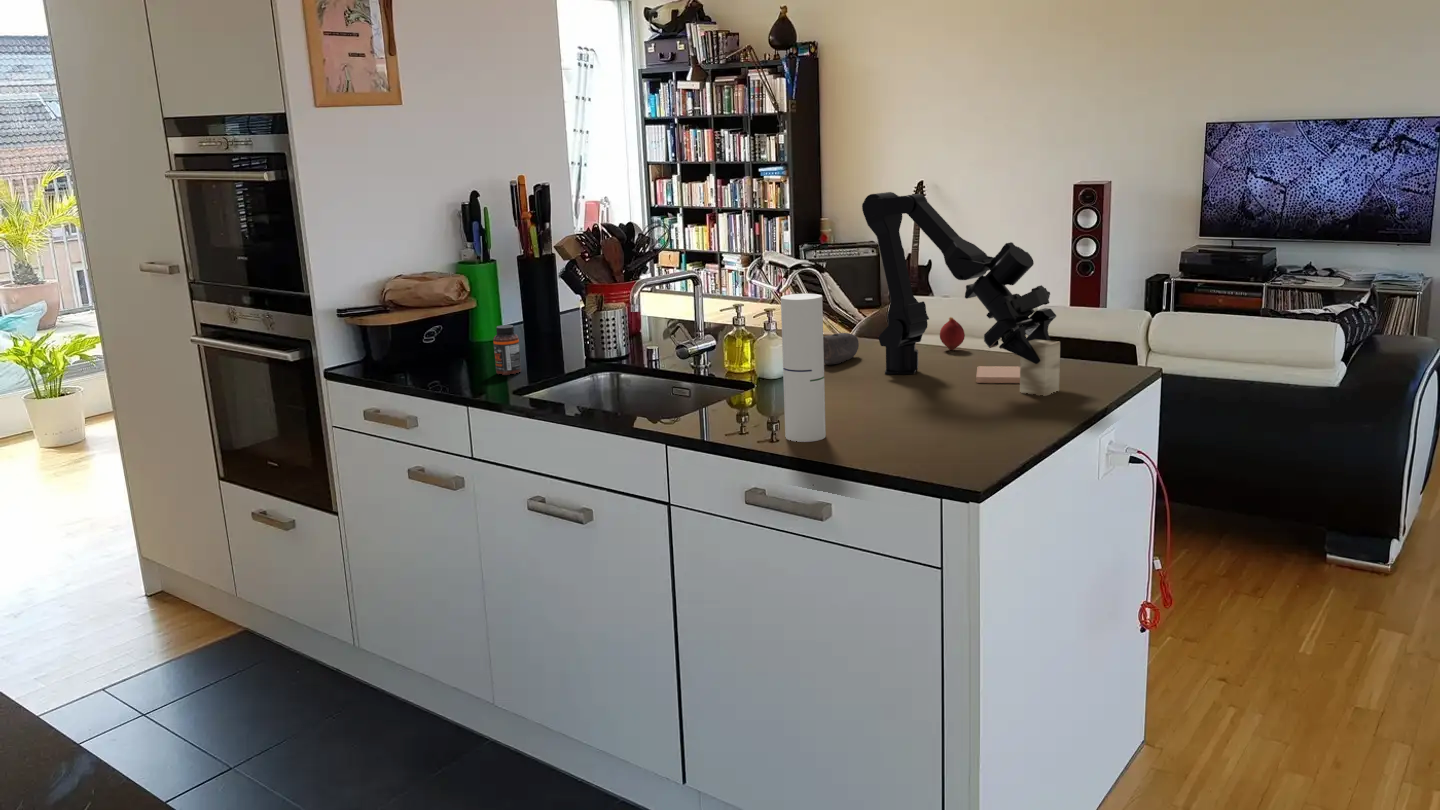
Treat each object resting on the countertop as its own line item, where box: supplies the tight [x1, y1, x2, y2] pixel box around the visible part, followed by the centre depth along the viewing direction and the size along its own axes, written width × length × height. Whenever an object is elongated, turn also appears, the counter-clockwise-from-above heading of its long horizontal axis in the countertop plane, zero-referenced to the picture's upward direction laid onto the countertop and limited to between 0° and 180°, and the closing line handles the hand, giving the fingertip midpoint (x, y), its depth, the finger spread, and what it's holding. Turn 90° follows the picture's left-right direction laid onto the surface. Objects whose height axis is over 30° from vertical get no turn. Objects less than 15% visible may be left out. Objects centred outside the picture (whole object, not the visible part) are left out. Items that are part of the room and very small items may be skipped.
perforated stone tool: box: [823, 332, 860, 366], centre depth 261 cm, size 15×5×7 cm, turn 140°
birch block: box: [1019, 339, 1061, 397], centre depth 223 cm, size 6×6×10 cm
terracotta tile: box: [975, 365, 1020, 384], centre depth 238 cm, size 11×11×1 cm
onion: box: [939, 316, 966, 351], centre depth 268 cm, size 6×6×8 cm
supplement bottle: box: [492, 324, 522, 376], centre depth 266 cm, size 6×6×11 cm
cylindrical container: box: [780, 293, 826, 443], centre depth 196 cm, size 7×7×25 cm
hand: (1046, 360), depth 222 cm, fingers open, 6 cm apart
